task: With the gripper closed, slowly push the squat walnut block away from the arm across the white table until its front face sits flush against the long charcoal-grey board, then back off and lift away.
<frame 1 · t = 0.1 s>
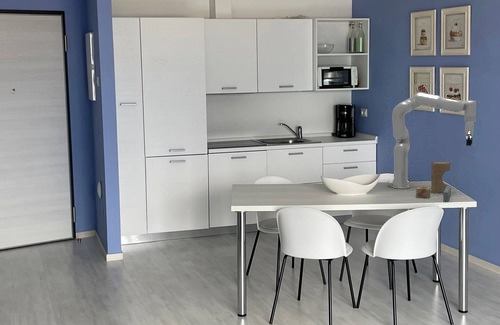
hand: (469, 144, 464), 31 cm above the table, fingers open, 9 cm apart
walnut block: (423, 197, 450), on the table
decorative block: (440, 192, 465), on the table
charcoal board: (447, 198, 445), on the table
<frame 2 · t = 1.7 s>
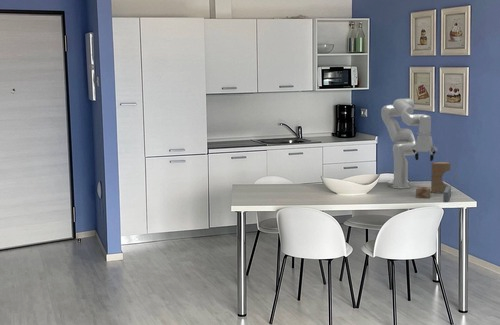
hand: (424, 160, 454), 23 cm above the table, fingers open, 9 cm apart
nothing on the table moved.
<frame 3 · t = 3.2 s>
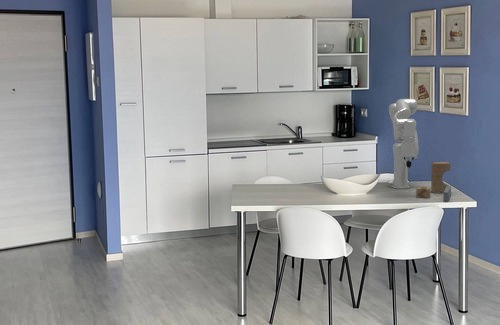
hand: (408, 167, 451), 19 cm above the table, fingers closed
nothing on the table moved.
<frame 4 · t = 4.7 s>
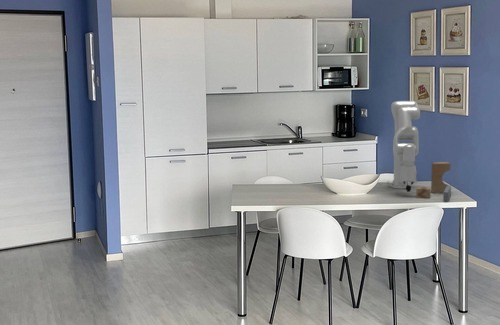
hand: (408, 191, 453), 3 cm above the table, fingers closed
nothing on the table moved.
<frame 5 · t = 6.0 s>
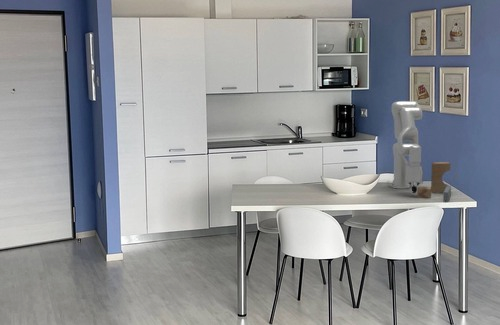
hand: (414, 192, 452), 3 cm above the table, fingers closed
walnut block: (424, 197, 450), on the table, touching gripper
everything else where it was.
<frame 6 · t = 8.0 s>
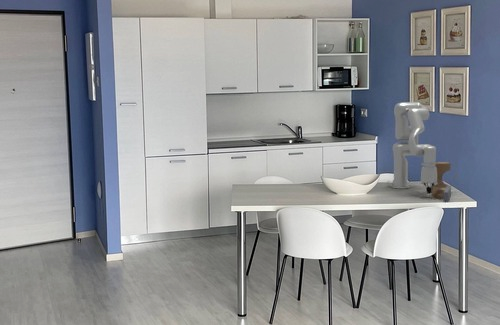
hand: (428, 193, 449), 3 cm above the table, fingers closed
walnut block: (438, 197, 447), on the table, touching charcoal board, gripper
everything else where it was.
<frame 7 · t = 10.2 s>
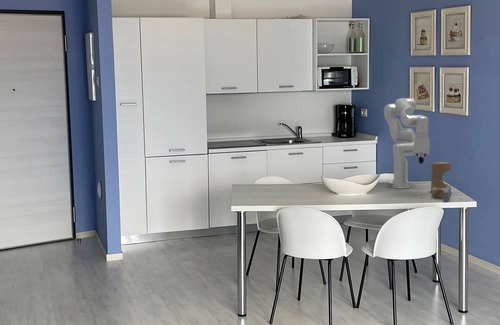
hand: (421, 163, 452), 21 cm above the table, fingers closed
walnut block: (438, 198, 447), on the table
everything else where it was.
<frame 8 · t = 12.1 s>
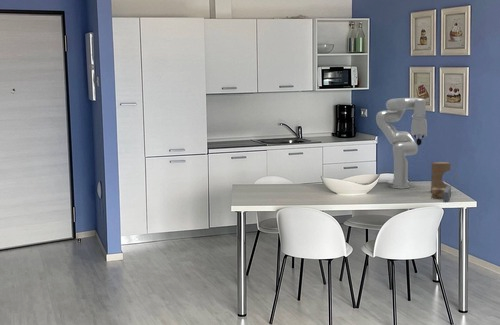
hand: (418, 144, 460), 32 cm above the table, fingers closed
nothing on the table moved.
at the end: walnut block 0.2 cm from the target spot on the table beside the charcoal board, on the table; walnut block tilted 0° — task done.
